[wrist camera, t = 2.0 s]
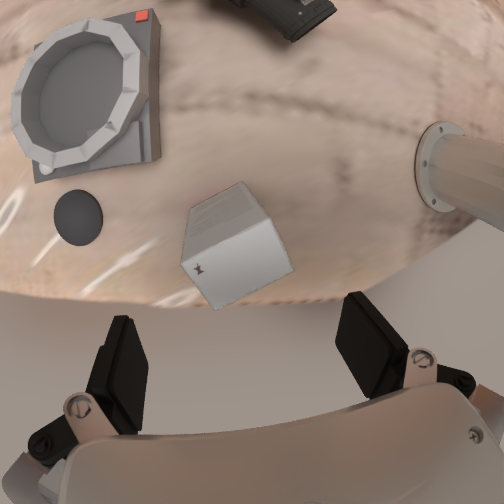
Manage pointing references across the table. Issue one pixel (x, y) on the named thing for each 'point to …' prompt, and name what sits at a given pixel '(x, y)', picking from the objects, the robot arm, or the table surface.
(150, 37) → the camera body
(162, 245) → the table surface
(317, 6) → the rifle scope
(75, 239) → the lens cap
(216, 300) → the skincare box
